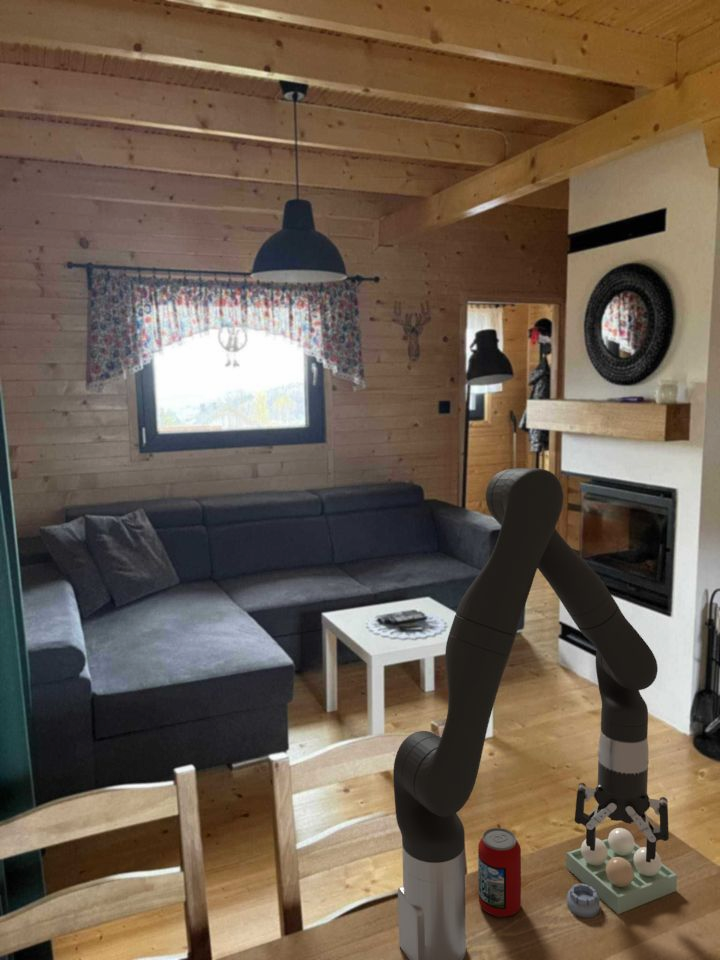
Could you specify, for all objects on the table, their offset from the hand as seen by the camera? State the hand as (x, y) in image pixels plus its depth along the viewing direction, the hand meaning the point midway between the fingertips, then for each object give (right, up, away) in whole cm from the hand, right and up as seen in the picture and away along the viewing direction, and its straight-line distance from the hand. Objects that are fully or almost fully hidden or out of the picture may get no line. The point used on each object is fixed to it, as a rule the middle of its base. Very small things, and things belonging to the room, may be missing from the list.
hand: (620, 853), depth 120 cm
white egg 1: (-2, -5, +7) cm, 9 cm away
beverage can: (-20, -9, 0) cm, 21 cm away
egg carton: (+2, -7, +5) cm, 9 cm away
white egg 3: (+6, -5, +4) cm, 9 cm away
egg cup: (-6, -8, -1) cm, 10 cm away
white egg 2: (+3, -5, +9) cm, 11 cm away
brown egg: (0, -6, +1) cm, 6 cm away
